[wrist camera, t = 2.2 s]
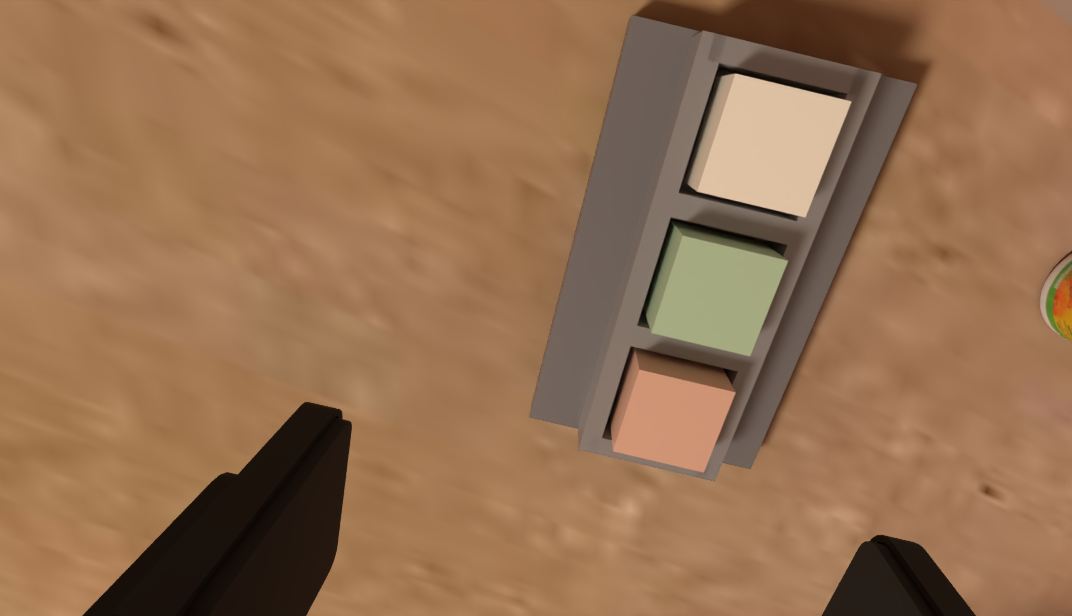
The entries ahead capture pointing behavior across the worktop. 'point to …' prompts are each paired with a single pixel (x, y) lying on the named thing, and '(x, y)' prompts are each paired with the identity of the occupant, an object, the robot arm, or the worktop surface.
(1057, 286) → the supplement bottle
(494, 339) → the worktop surface
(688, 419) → the terracotta key
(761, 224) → the console
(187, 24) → the worktop surface
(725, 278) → the sage key
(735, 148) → the cream key
